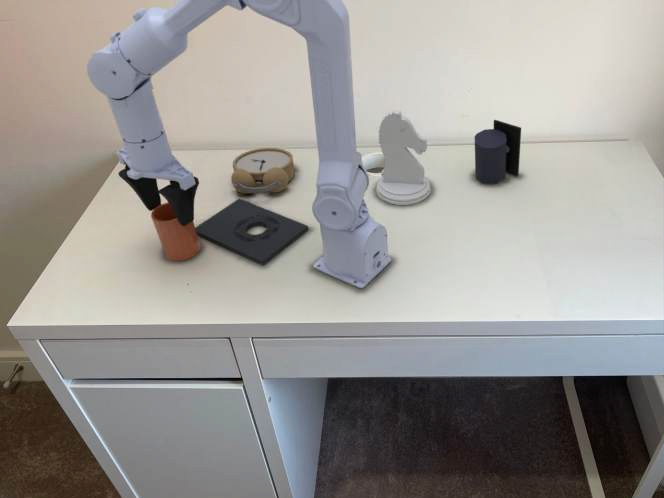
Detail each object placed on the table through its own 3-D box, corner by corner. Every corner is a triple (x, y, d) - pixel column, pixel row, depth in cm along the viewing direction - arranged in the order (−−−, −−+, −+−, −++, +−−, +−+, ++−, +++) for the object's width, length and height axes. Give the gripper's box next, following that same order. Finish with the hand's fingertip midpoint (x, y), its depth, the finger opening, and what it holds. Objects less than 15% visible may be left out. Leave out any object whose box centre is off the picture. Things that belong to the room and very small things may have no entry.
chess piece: (427, 206, 100) (429, 126, 90) (372, 203, 101) (367, 124, 91) (433, 177, 107) (434, 100, 97) (381, 174, 108) (377, 98, 98)
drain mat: (308, 229, 96) (307, 225, 95) (263, 265, 89) (262, 261, 89) (240, 202, 103) (239, 198, 102) (193, 233, 96) (192, 229, 96)
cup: (207, 246, 93) (196, 207, 88) (181, 264, 90) (167, 226, 85) (184, 235, 96) (172, 197, 91) (158, 253, 93) (143, 214, 88)
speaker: (499, 161, 110) (502, 113, 102) (519, 176, 106) (523, 127, 99) (467, 176, 108) (467, 128, 100) (485, 191, 104) (488, 142, 97)
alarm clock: (296, 146, 112) (285, 173, 99) (299, 170, 114) (289, 200, 101) (239, 148, 112) (220, 175, 99) (243, 172, 114) (225, 202, 102)
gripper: (86, 132, 80) (119, 213, 89) (154, 159, 74) (182, 243, 83) (128, 113, 84) (156, 192, 93) (195, 137, 78) (218, 219, 87)
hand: (170, 214), depth 88 cm, fingers open, 7 cm apart
